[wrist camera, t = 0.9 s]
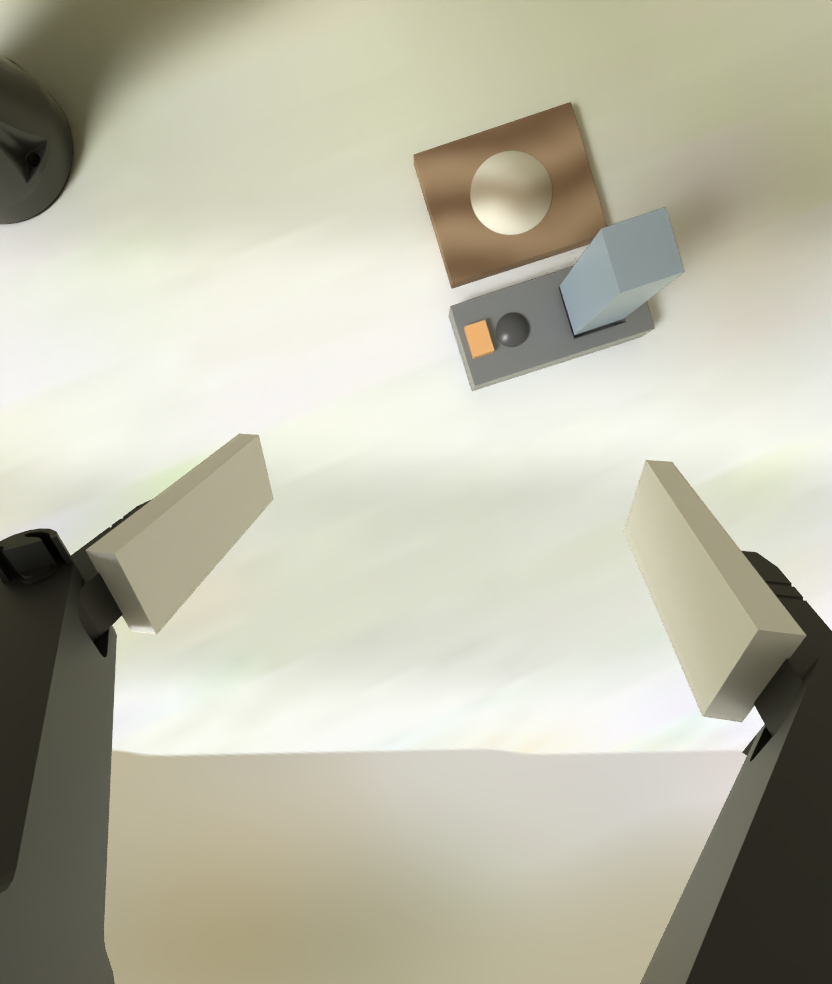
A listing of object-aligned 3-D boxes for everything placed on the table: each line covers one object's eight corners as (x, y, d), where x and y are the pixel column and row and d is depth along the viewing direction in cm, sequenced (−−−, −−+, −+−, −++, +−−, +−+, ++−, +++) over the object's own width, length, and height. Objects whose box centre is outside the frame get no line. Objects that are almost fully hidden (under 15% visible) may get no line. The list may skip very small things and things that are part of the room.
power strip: (471, 392, 43) (475, 384, 39) (448, 318, 42) (450, 302, 39) (638, 338, 42) (659, 325, 38) (616, 263, 42) (635, 242, 38)
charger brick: (550, 298, 41) (600, 228, 29) (596, 282, 41) (665, 206, 29) (564, 344, 41) (620, 293, 30) (610, 328, 41) (684, 271, 29)
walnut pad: (414, 164, 41) (413, 153, 40) (566, 113, 41) (571, 101, 40) (451, 288, 42) (452, 282, 40) (603, 239, 41) (609, 231, 40)
